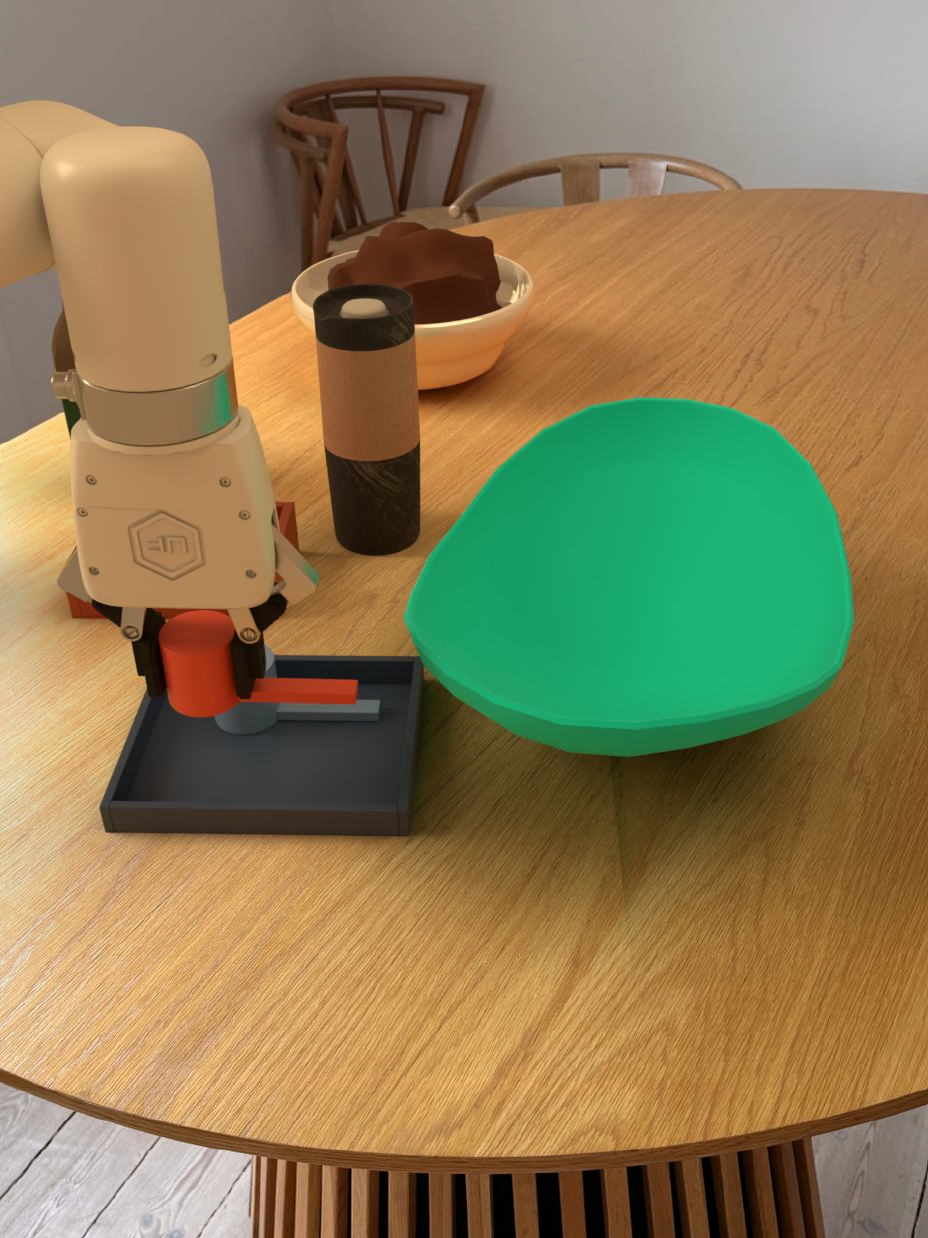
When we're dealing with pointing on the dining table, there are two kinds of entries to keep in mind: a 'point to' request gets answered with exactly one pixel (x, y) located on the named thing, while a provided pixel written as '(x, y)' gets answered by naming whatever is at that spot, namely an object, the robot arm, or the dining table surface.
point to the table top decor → (640, 583)
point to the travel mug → (370, 415)
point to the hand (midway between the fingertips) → (204, 681)
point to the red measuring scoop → (227, 670)
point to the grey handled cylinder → (291, 710)
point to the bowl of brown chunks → (434, 295)
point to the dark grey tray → (276, 763)
